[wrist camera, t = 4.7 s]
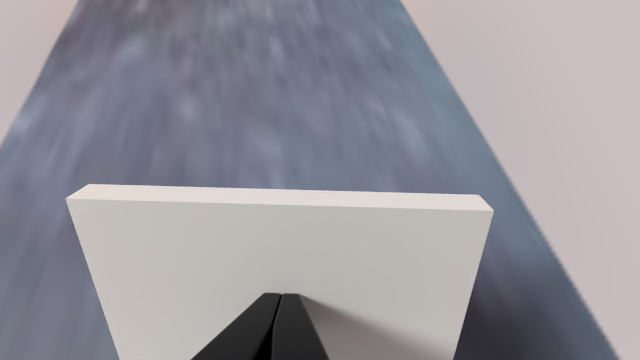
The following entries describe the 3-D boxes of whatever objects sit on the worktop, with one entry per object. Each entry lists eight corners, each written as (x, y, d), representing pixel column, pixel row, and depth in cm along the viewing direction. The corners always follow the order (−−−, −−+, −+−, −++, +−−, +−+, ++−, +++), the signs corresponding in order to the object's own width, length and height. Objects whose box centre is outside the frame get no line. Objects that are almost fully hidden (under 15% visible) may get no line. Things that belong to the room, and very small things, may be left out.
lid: (429, 395, 10) (436, 419, 9) (149, 384, 10) (136, 409, 9) (478, 194, 7) (493, 210, 6) (88, 184, 7) (65, 198, 6)
